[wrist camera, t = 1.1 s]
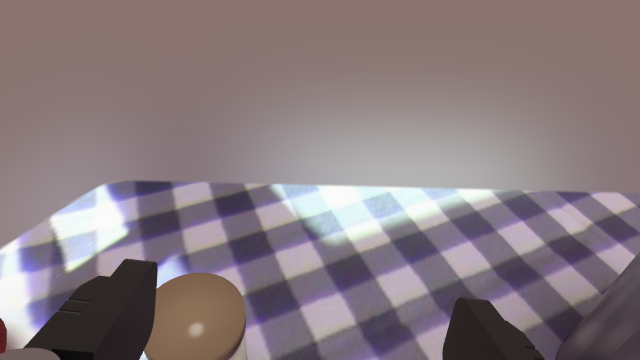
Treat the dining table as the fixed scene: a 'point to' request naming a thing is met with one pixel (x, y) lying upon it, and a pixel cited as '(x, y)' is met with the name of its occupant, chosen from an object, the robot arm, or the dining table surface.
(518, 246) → the dining table surface
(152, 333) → the spice jar
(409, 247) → the dining table surface
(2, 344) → the red pomegranate
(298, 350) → the dining table surface
